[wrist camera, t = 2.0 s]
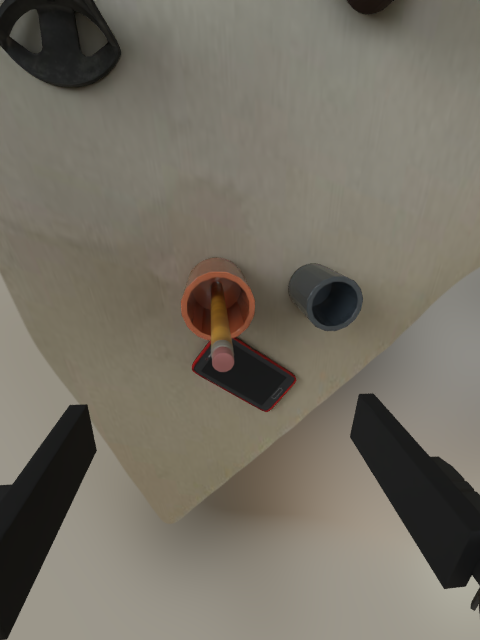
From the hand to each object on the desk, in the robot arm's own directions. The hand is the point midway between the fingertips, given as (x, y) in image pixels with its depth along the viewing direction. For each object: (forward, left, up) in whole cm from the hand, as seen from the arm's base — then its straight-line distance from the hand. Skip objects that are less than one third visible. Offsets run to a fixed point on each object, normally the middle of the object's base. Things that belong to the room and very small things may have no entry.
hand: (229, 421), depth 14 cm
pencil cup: (0, 0, -26) cm, 26 cm away
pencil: (0, 0, -25) cm, 25 cm away
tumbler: (0, +13, -26) cm, 29 cm away
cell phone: (+13, +4, -26) cm, 29 cm away
